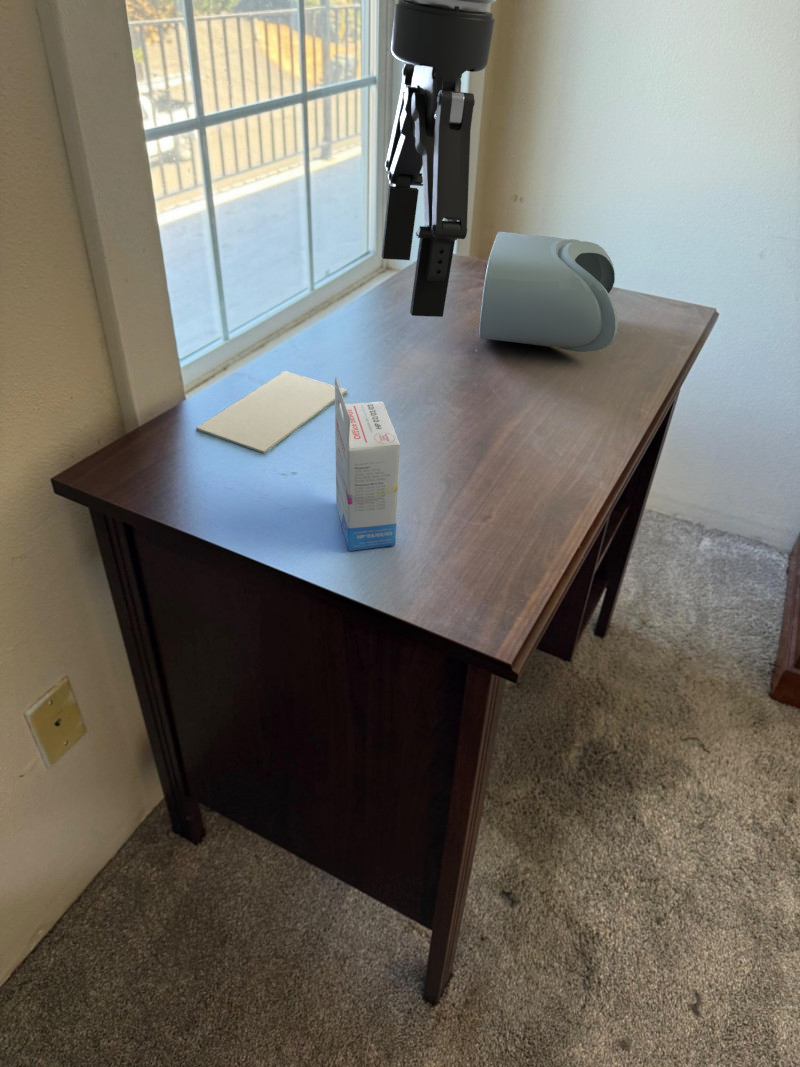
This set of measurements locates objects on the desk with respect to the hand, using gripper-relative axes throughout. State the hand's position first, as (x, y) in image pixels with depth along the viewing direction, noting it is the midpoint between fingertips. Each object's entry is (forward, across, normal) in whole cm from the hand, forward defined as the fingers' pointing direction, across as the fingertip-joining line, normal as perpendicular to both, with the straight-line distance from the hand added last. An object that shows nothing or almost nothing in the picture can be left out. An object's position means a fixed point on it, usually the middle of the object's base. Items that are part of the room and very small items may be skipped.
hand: (409, 284), depth 68 cm
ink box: (+22, -7, +3) cm, 24 cm away
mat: (+23, +18, +11) cm, 31 cm away
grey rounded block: (+20, +36, -32) cm, 52 cm away
